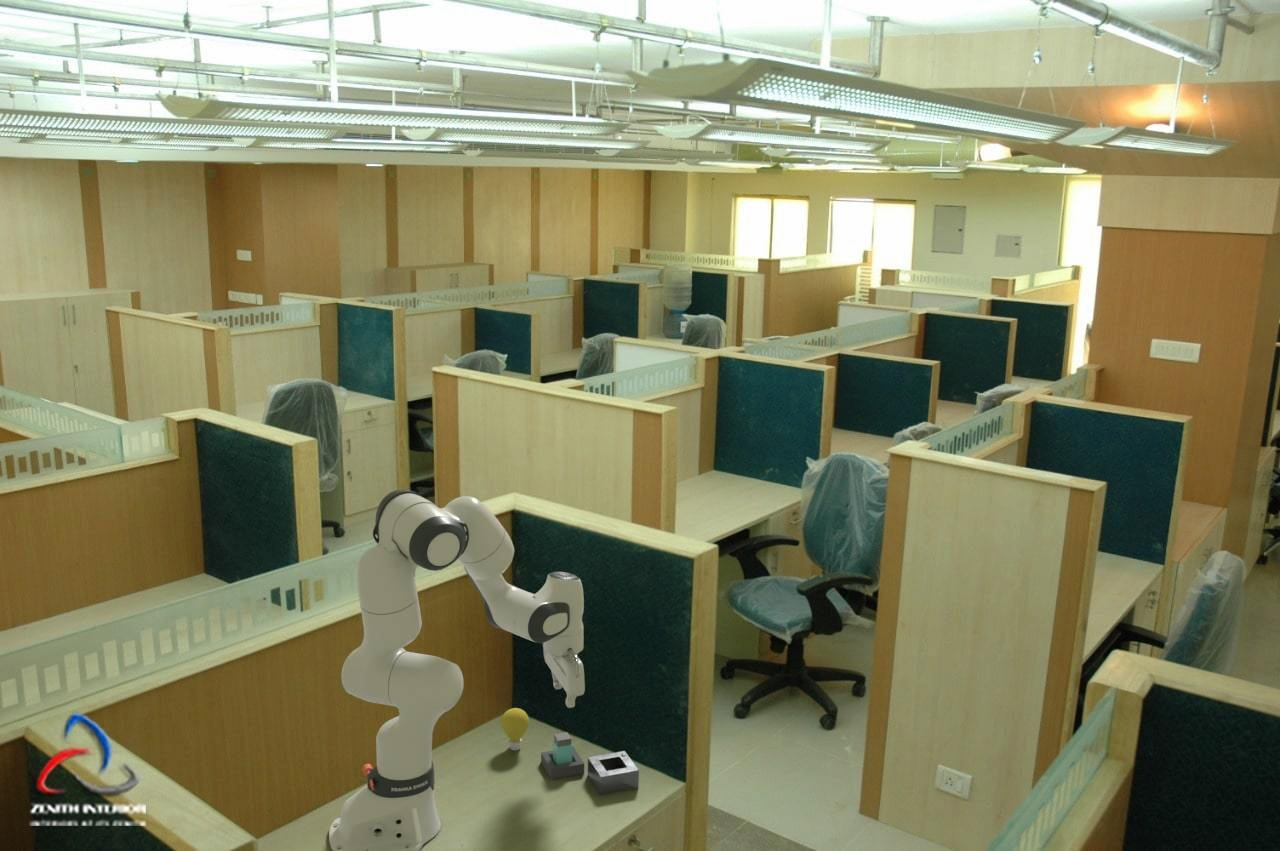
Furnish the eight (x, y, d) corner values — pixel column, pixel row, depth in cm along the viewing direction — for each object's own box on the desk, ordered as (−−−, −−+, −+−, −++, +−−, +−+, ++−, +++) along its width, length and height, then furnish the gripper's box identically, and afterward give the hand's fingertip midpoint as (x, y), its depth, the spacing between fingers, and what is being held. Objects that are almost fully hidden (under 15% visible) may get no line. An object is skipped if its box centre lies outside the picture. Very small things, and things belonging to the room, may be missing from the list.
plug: (557, 773, 243) (557, 741, 241) (552, 765, 246) (553, 734, 244) (572, 770, 244) (572, 738, 243) (567, 762, 247) (567, 731, 246)
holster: (550, 779, 240) (550, 769, 240) (541, 762, 247) (541, 752, 247) (584, 773, 243) (584, 763, 242) (573, 756, 250) (573, 747, 250)
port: (600, 795, 234) (600, 776, 233) (587, 775, 242) (587, 756, 241) (638, 788, 237) (638, 769, 236) (624, 768, 245) (624, 750, 245)
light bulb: (503, 740, 257) (503, 702, 255) (530, 741, 257) (531, 703, 255) (498, 754, 250) (498, 715, 248) (526, 755, 250) (527, 716, 248)
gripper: (592, 657, 230) (591, 715, 233) (564, 622, 249) (564, 676, 252) (564, 661, 228) (564, 720, 231) (538, 625, 247) (538, 680, 250)
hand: (563, 696), depth 242 cm, fingers open, 8 cm apart
